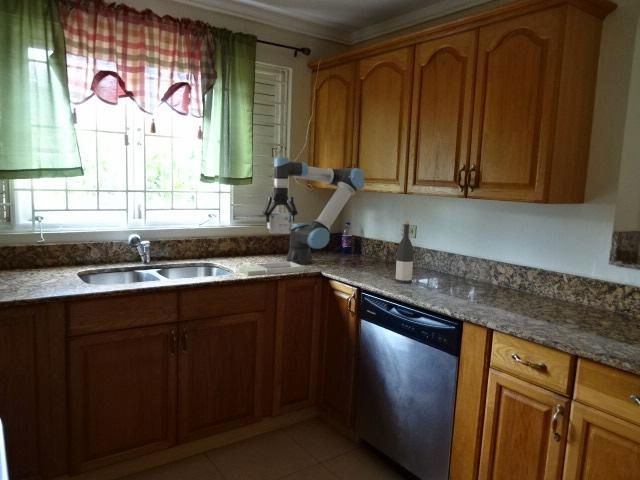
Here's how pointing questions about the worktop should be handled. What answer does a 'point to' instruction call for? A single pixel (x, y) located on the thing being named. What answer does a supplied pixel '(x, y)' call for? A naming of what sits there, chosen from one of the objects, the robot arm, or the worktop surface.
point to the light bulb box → (280, 223)
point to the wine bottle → (404, 258)
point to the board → (251, 270)
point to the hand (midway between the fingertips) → (280, 228)
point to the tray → (292, 268)
